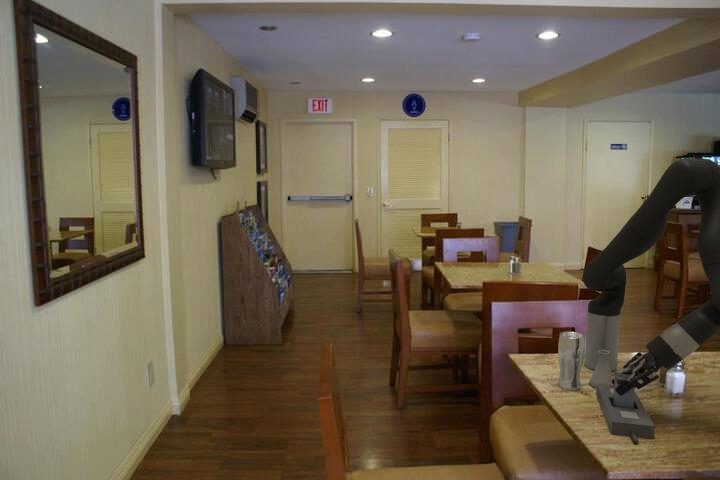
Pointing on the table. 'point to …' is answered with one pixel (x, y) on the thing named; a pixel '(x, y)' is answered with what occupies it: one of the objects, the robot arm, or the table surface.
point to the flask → (602, 370)
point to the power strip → (625, 415)
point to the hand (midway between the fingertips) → (615, 388)
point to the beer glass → (570, 359)
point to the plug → (628, 397)
